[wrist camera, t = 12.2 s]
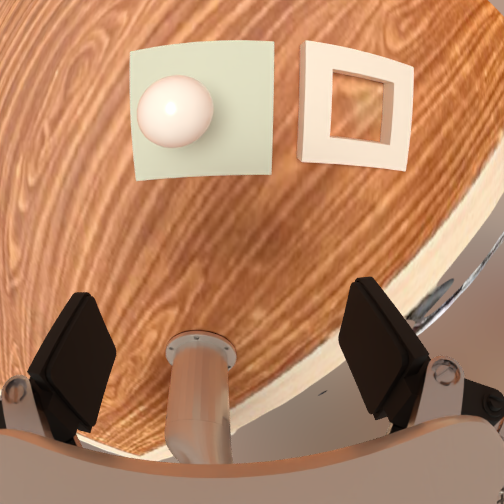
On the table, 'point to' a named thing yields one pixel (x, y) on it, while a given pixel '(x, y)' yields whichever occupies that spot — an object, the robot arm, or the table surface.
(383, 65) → the pocket holder
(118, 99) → the table surface
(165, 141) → the lightbulb
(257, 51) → the sage mat
